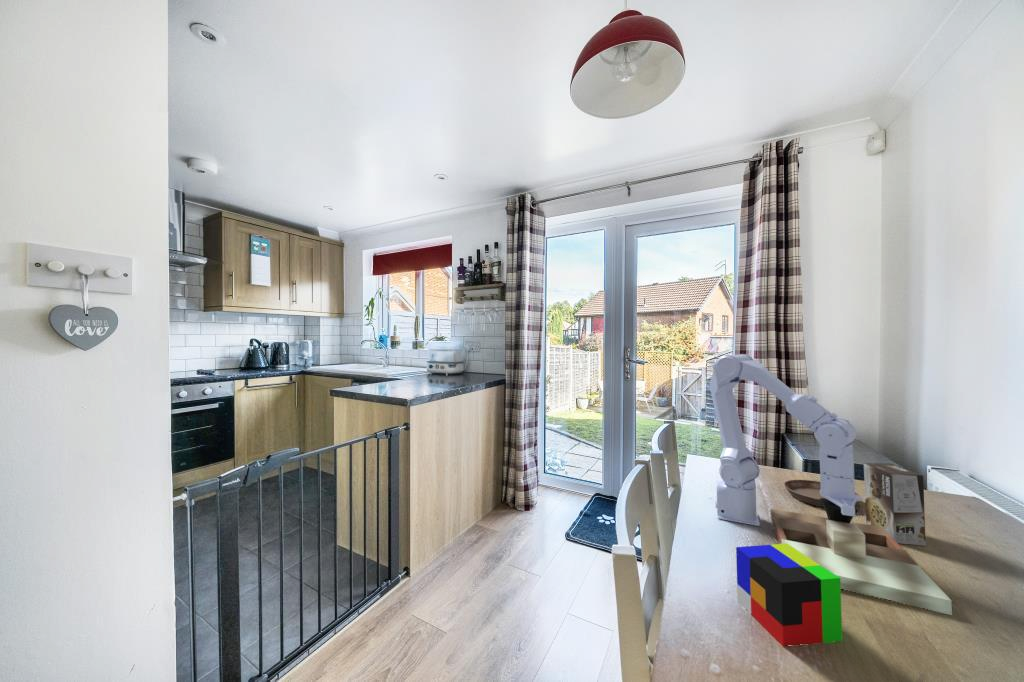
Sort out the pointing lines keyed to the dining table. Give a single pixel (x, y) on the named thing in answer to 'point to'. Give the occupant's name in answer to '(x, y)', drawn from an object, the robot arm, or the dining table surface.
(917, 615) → the dining table surface
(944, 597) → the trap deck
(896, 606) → the dining table surface
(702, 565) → the dining table surface
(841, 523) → the block
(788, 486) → the plant saucer
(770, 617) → the puzzle toy
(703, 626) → the dining table surface
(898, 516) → the coffee box
